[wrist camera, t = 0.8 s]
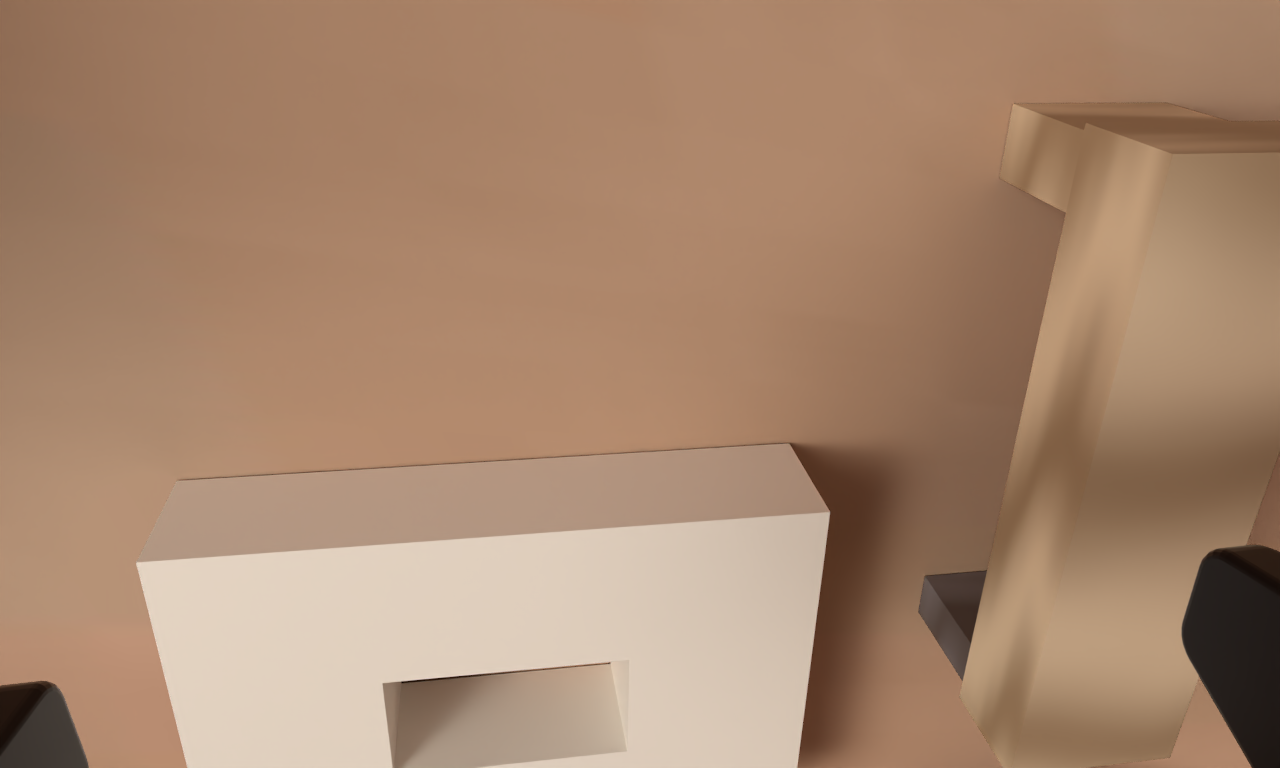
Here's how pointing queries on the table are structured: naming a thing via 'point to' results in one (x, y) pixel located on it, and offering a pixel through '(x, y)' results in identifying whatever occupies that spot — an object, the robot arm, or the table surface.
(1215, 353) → the tan elongated block
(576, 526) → the white slotted block
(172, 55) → the table surface
